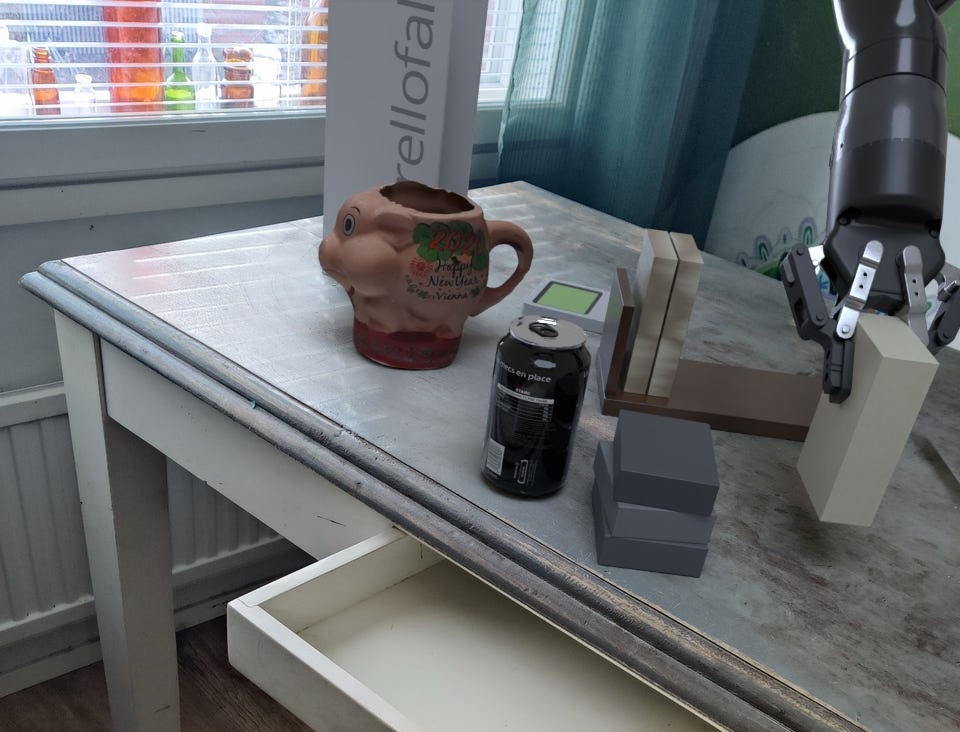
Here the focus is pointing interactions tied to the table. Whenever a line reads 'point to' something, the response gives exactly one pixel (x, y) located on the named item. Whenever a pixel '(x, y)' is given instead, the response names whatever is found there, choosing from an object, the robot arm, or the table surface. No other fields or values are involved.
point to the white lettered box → (400, 95)
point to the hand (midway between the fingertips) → (870, 402)
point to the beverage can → (535, 404)
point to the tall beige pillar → (866, 422)
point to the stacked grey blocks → (655, 494)
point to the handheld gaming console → (569, 303)
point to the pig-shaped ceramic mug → (417, 269)
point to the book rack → (680, 382)
